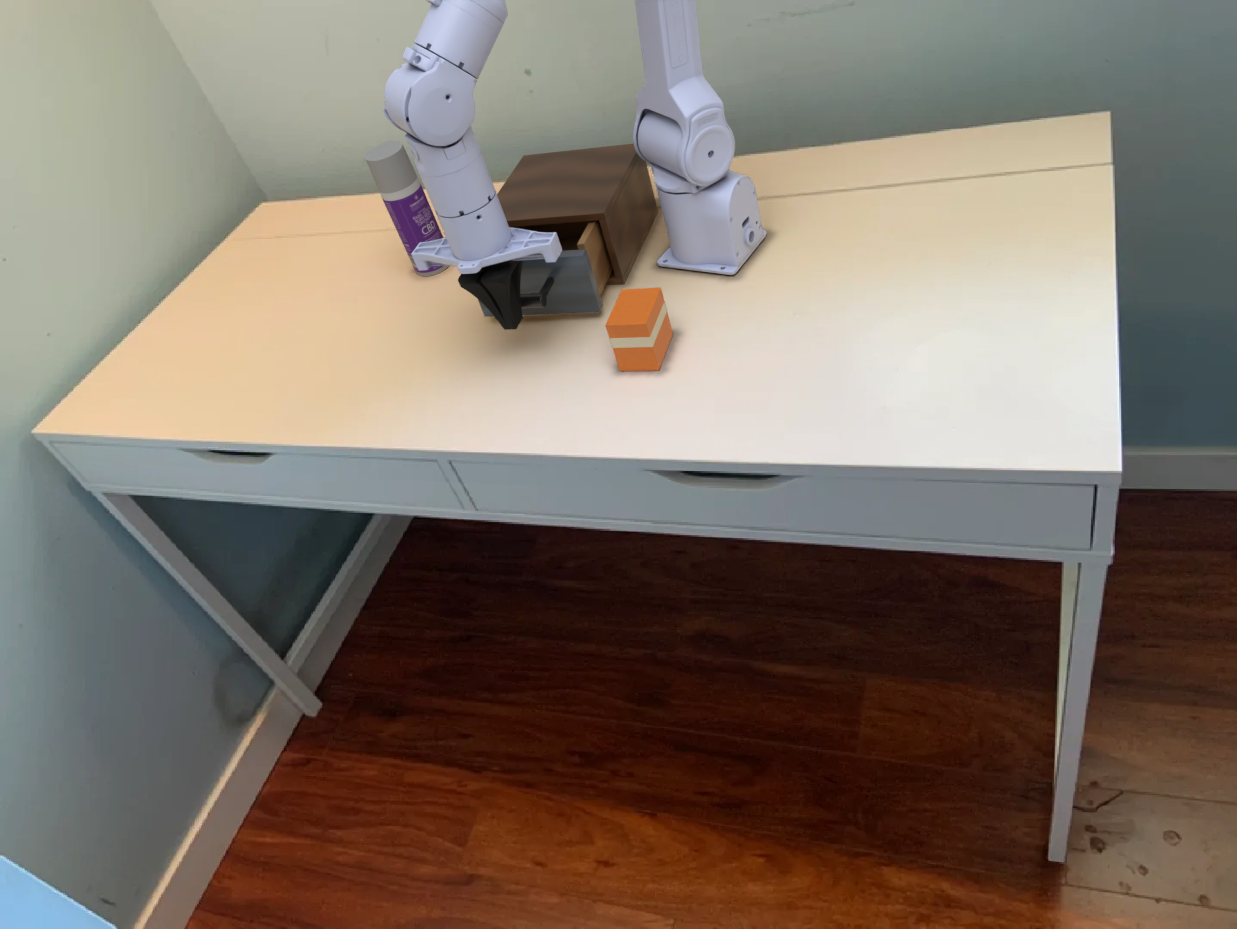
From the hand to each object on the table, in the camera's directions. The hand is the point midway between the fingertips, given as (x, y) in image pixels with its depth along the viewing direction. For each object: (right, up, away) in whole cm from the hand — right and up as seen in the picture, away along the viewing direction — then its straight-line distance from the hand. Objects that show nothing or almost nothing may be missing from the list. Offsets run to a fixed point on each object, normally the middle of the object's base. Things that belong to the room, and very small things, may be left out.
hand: (513, 323), depth 95 cm
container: (-12, +10, +21) cm, 26 cm away
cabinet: (+6, +11, +15) cm, 20 cm away
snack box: (+13, -3, -2) cm, 14 cm away
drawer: (+4, +5, +9) cm, 11 cm away
